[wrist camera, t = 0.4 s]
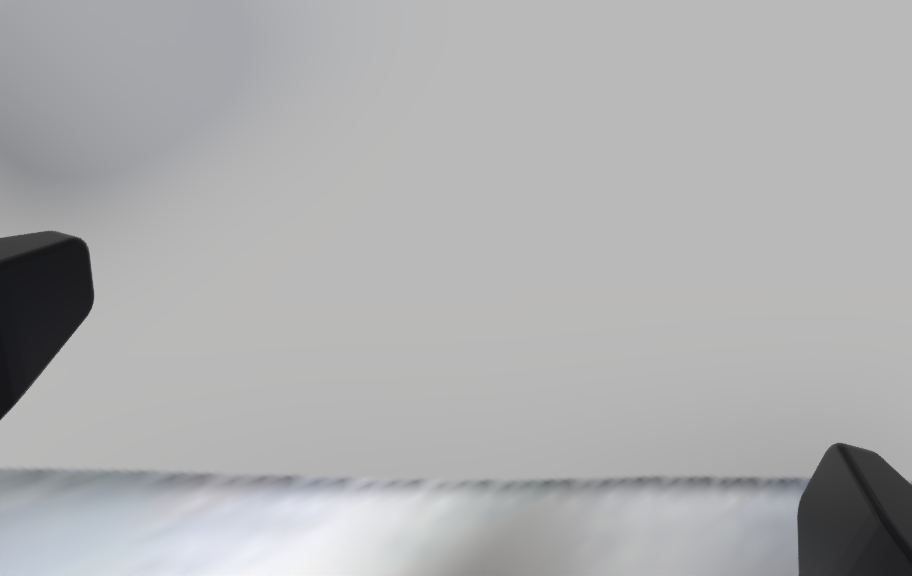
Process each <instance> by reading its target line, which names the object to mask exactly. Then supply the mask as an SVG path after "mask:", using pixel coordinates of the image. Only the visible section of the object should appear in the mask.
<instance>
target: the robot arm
mask: <svg viewBox="0 0 912 576" xmlns="http://www.w3.org/2000/svg"><path fill="white" fill-rule="evenodd" d="M93 302H94V288H93V280H92V272H91V263H90V254H89V249H88V246H87V244H86V243H85V242H84V241H83V240H82V239H81V238H78V237H75V236H71V235H68V234H64V233H60V232H56V231H44V232H37V233H31V234H24V235H17V236H11V237H5V238H0V420H1V419H2V418H3V417H4V416H5V415H6V414H7V413H8V412H9V411H10V410H11V408H12V407H13V406H14V405H15V404H16V403H17V402H18V401H19V399H20V398H21V397H22V396H23V395H24V394H25V392H26V391H27V390H28V389H29V388H30V386H31V385H32V384H33V383H34V381H35V380H36V379H37V378H38V376H39V375H40V374H41V373H42V372H43V370H44V369H45V368H46V367H47V365H48V364H49V363H50V362H51V360H52V359H53V358H54V357H55V355H56V354H57V353H58V352H59V351H60V349H61V348H62V347H63V346H64V344H65V343H66V342H67V341H68V339H69V338H70V337H71V336H72V334H73V333H74V332H75V331H76V329H77V328H78V327H79V326H80V325H81V323H82V322H83V321H84V319H85V318H86V317H87V316H88V314H89V312H90V310H91V309H92V305H93ZM797 522H798V562H799V576H912V485H911V484H910V483H909V482H908V481H907V480H905V479H904V478H903V477H902V476H901V475H900V474H899V473H898V472H897V471H896V470H894V469H893V468H892V467H891V466H890V465H889V464H888V463H887V462H886V461H885V460H884V459H883V458H881V456H879V455H878V454H877V453H875V452H873V451H870V450H866V449H862V448H859V447H855V446H851V445H847V444H843V443H837V444H834V445H832V446H831V447H830V448H829V449H828V450H827V451H826V453H825V454H824V456H823V458H822V460H821V462H820V463H819V465H818V467H817V469H816V471H815V473H814V474H813V476H812V478H811V480H810V482H809V484H808V485H807V487H806V489H805V491H804V493H803V495H802V497H801V500H800V503H799V507H798V515H797Z"/></svg>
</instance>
